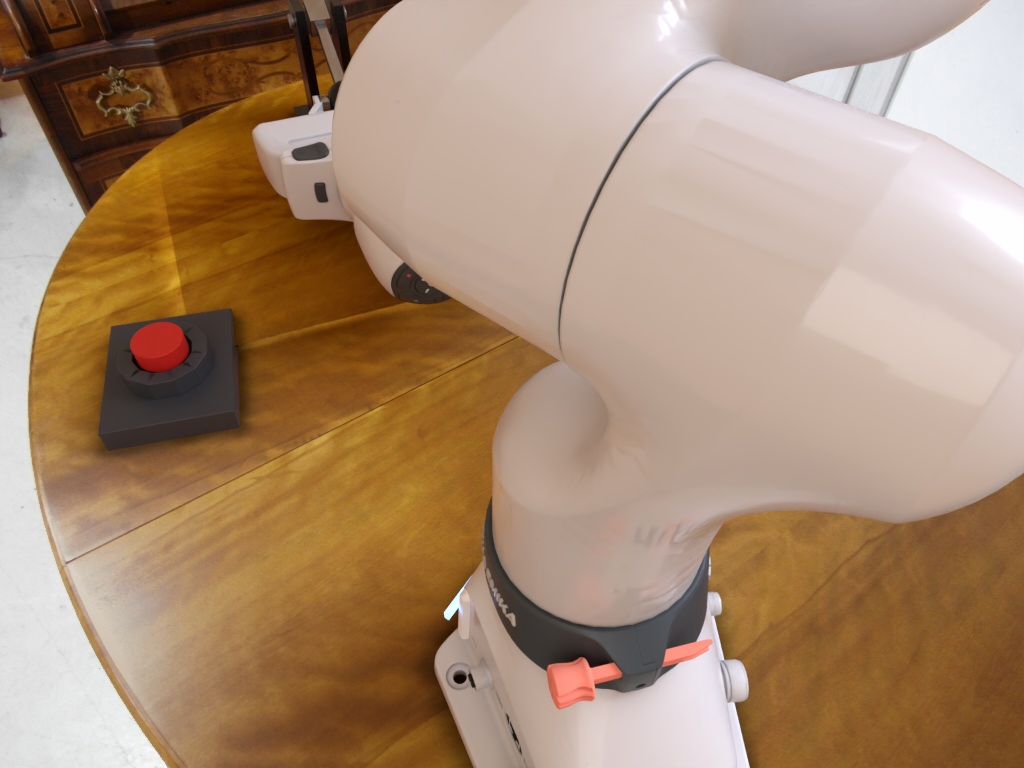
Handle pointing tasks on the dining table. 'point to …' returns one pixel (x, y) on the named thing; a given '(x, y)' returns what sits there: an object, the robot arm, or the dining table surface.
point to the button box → (172, 385)
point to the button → (159, 347)
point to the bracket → (305, 52)
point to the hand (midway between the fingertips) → (343, 97)
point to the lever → (324, 41)
